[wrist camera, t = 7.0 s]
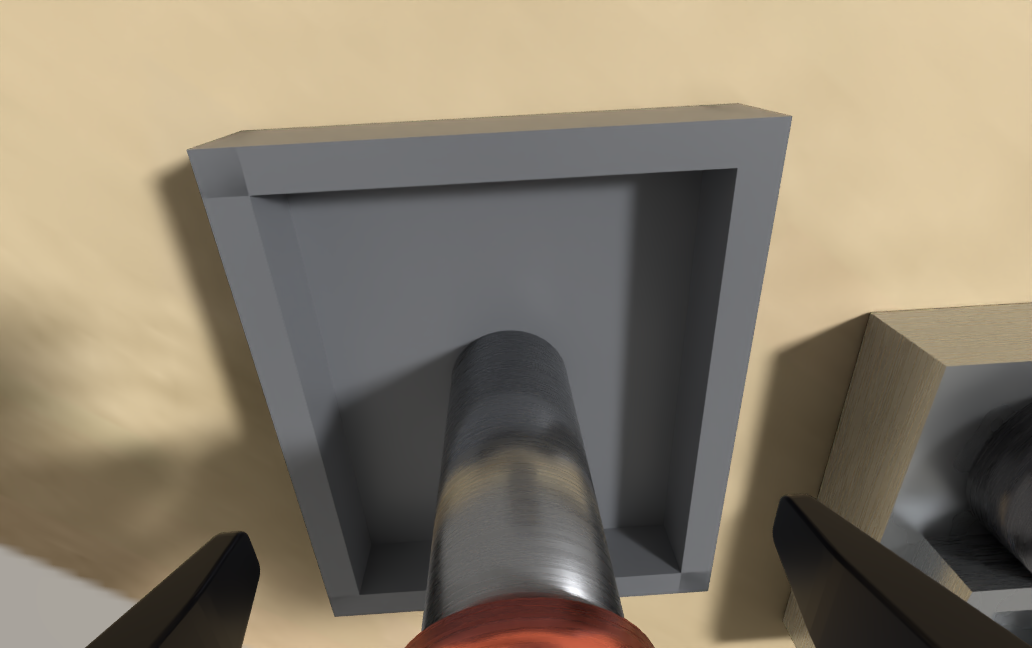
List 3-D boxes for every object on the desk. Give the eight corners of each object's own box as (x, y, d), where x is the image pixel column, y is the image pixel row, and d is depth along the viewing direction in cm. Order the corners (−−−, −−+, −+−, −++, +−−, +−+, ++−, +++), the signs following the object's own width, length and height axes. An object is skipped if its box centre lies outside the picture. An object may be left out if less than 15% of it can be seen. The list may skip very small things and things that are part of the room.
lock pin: (579, 433, 14) (672, 838, 7) (446, 441, 14) (400, 860, 7) (579, 313, 12) (702, 679, 5) (430, 323, 12) (346, 706, 5)
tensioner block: (1008, 605, 19) (1154, 763, 15) (782, 620, 19) (865, 784, 15) (1188, 293, 13) (1503, 405, 9) (870, 312, 13) (1043, 435, 9)
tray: (682, 526, 16) (708, 591, 14) (353, 548, 16) (334, 616, 14) (738, 103, 11) (792, 115, 9) (241, 130, 11) (186, 150, 9)
